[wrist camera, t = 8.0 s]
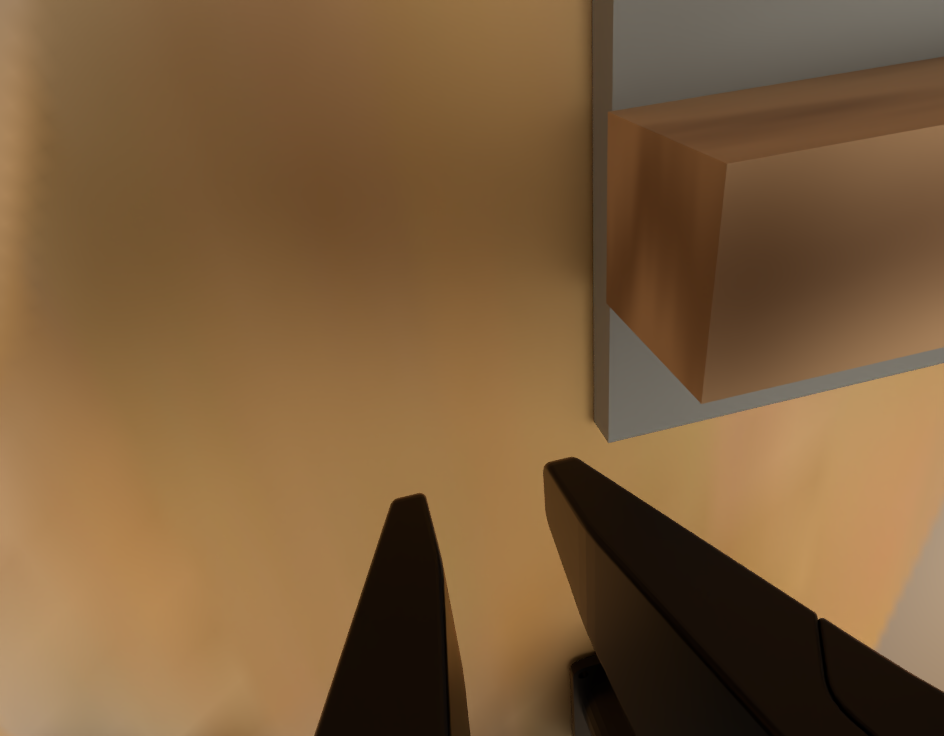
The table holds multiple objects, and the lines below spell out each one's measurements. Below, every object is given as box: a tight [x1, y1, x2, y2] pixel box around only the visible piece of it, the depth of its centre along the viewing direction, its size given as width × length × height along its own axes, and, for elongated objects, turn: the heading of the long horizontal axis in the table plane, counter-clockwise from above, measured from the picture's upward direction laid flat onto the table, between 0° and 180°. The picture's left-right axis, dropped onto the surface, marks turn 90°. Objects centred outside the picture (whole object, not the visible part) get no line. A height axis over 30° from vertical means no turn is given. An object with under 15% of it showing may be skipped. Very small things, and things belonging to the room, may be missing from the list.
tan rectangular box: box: [606, 57, 944, 404], centre depth 15 cm, size 5×10×5 cm, turn 96°
